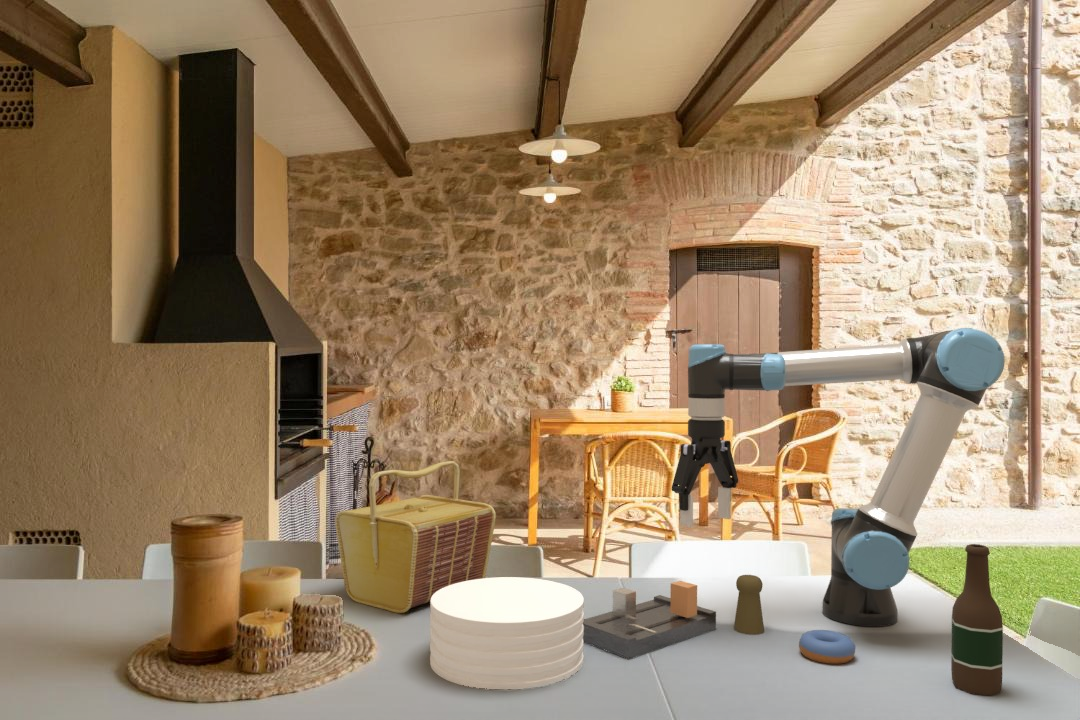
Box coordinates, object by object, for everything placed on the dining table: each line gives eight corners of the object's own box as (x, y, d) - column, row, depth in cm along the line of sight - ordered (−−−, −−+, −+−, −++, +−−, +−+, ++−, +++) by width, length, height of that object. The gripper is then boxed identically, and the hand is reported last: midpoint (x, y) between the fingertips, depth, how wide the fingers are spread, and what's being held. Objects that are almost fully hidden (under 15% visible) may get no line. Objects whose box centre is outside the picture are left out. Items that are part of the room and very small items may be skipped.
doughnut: (856, 668, 146) (855, 641, 147) (797, 663, 150) (796, 637, 150) (855, 654, 156) (854, 630, 156) (800, 650, 159) (799, 626, 160)
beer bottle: (941, 678, 142) (942, 540, 142) (983, 677, 143) (985, 540, 143) (968, 697, 135) (969, 551, 134) (1013, 696, 135) (1014, 550, 135)
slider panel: (715, 629, 167) (716, 590, 167) (628, 659, 150) (628, 615, 150) (659, 611, 179) (660, 574, 179) (572, 637, 162) (573, 597, 162)
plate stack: (465, 703, 131) (465, 632, 131) (409, 647, 156) (409, 587, 156) (612, 673, 144) (613, 608, 144) (539, 626, 169) (539, 570, 169)
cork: (765, 635, 164) (765, 580, 164) (734, 633, 165) (734, 579, 165) (763, 626, 170) (763, 572, 170) (733, 623, 171) (733, 571, 171)
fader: (696, 614, 165) (697, 585, 165) (687, 618, 164) (687, 588, 164) (679, 609, 169) (680, 580, 169) (670, 612, 167) (670, 583, 167)
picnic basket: (420, 572, 210) (421, 455, 210) (499, 590, 195) (500, 464, 194) (329, 599, 186) (330, 467, 186) (411, 622, 171) (412, 478, 171)
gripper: (726, 414, 181) (726, 512, 181) (653, 420, 165) (653, 527, 165) (755, 416, 176) (755, 517, 176) (683, 422, 160) (682, 533, 160)
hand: (705, 522), depth 170 cm, fingers open, 12 cm apart
